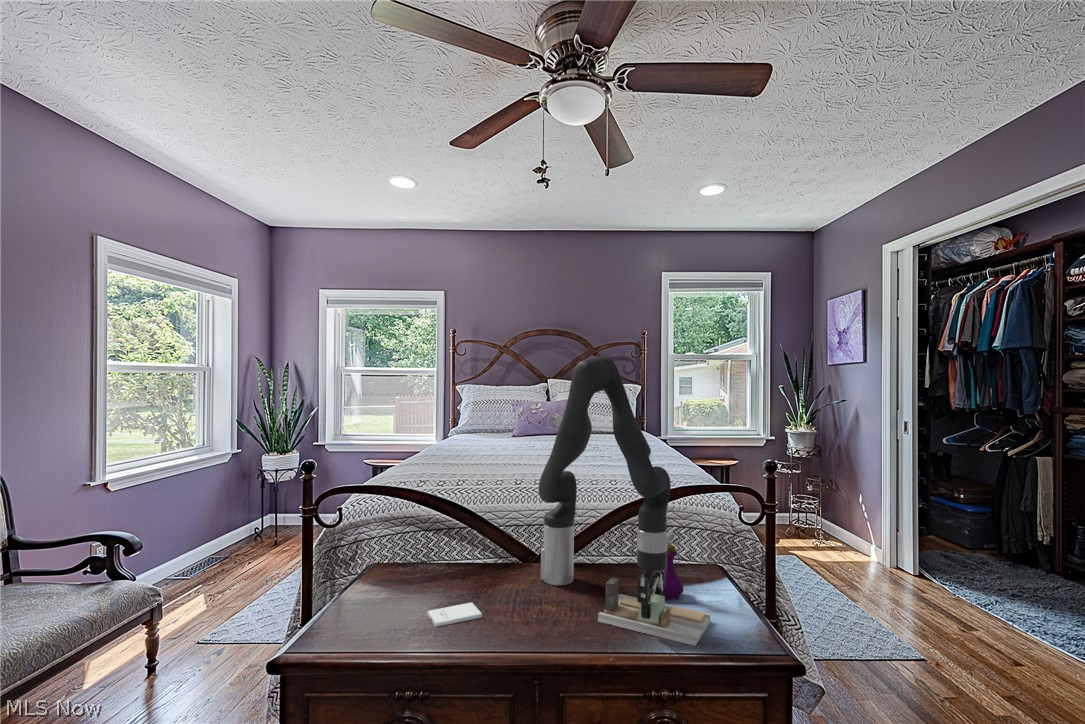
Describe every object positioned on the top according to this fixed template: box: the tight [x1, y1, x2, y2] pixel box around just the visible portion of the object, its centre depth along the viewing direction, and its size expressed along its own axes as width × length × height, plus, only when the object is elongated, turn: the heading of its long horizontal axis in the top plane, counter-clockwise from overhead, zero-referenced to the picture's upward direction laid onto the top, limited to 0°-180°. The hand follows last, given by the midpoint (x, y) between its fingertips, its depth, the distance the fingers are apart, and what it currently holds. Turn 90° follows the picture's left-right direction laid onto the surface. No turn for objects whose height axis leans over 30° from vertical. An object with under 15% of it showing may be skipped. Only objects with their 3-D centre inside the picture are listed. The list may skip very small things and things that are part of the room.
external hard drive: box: [426, 602, 483, 628], centre depth 148 cm, size 2×8×12 cm
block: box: [639, 594, 666, 623], centre depth 143 cm, size 5×5×5 cm
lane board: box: [597, 593, 711, 647], centre depth 146 cm, size 25×15×2 cm, turn 60°
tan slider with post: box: [603, 577, 670, 628], centre depth 145 cm, size 16×5×8 cm, turn 60°
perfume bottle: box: [661, 532, 684, 600], centre depth 163 cm, size 8×8×18 cm
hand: (651, 611), depth 143 cm, fingers open, 8 cm apart
